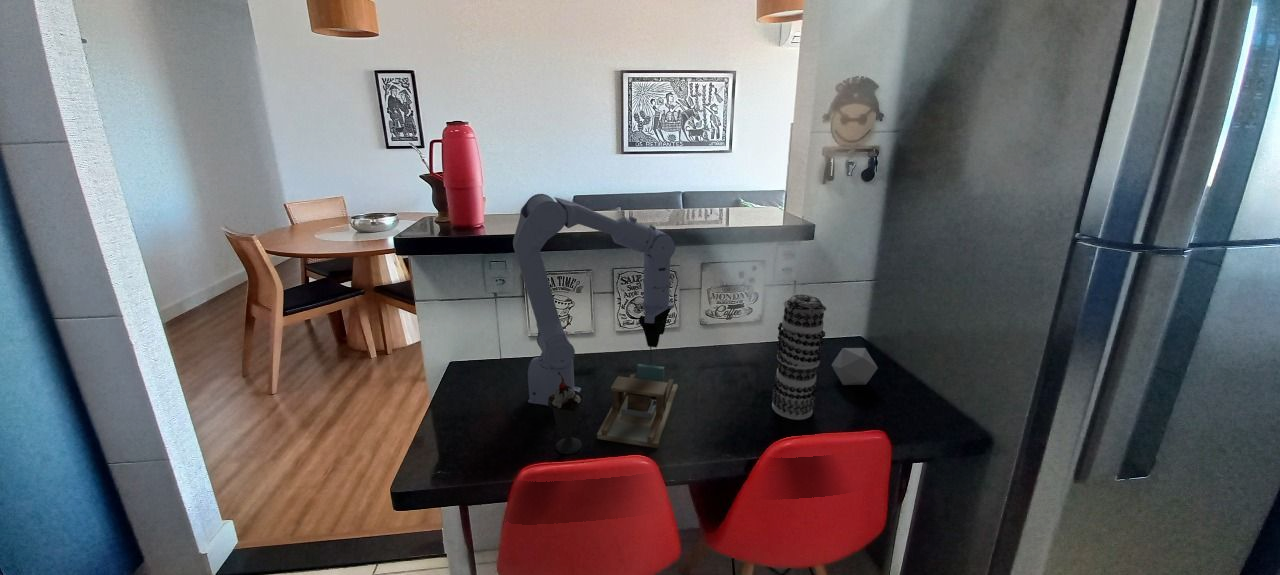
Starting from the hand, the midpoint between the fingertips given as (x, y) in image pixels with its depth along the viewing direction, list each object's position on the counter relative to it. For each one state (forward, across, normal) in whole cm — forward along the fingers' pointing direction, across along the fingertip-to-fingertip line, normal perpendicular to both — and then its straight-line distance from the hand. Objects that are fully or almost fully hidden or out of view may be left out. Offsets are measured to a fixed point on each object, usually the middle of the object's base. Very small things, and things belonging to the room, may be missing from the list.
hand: (655, 339), depth 116 cm
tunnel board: (+10, -14, 0) cm, 18 cm away
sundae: (+10, -29, +10) cm, 32 cm away
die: (+10, +10, -45) cm, 47 cm away
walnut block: (+8, -16, 0) cm, 18 cm away
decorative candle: (+10, -6, -31) cm, 33 cm away
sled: (+9, -11, 0) cm, 14 cm away
